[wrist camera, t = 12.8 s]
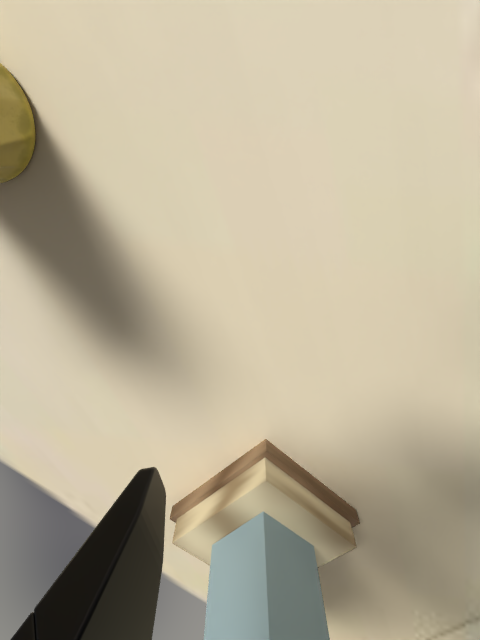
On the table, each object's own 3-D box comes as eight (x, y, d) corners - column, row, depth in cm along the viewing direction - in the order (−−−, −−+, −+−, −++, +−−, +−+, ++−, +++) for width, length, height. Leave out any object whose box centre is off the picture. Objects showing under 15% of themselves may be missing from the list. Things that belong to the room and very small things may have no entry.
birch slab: (265, 457, 26) (266, 480, 24) (350, 522, 29) (356, 547, 27) (177, 518, 29) (172, 543, 27) (261, 571, 32) (262, 596, 30)
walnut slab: (265, 430, 27) (266, 450, 26) (353, 501, 31) (359, 523, 29) (174, 497, 31) (169, 519, 29) (261, 554, 34) (262, 576, 32)
